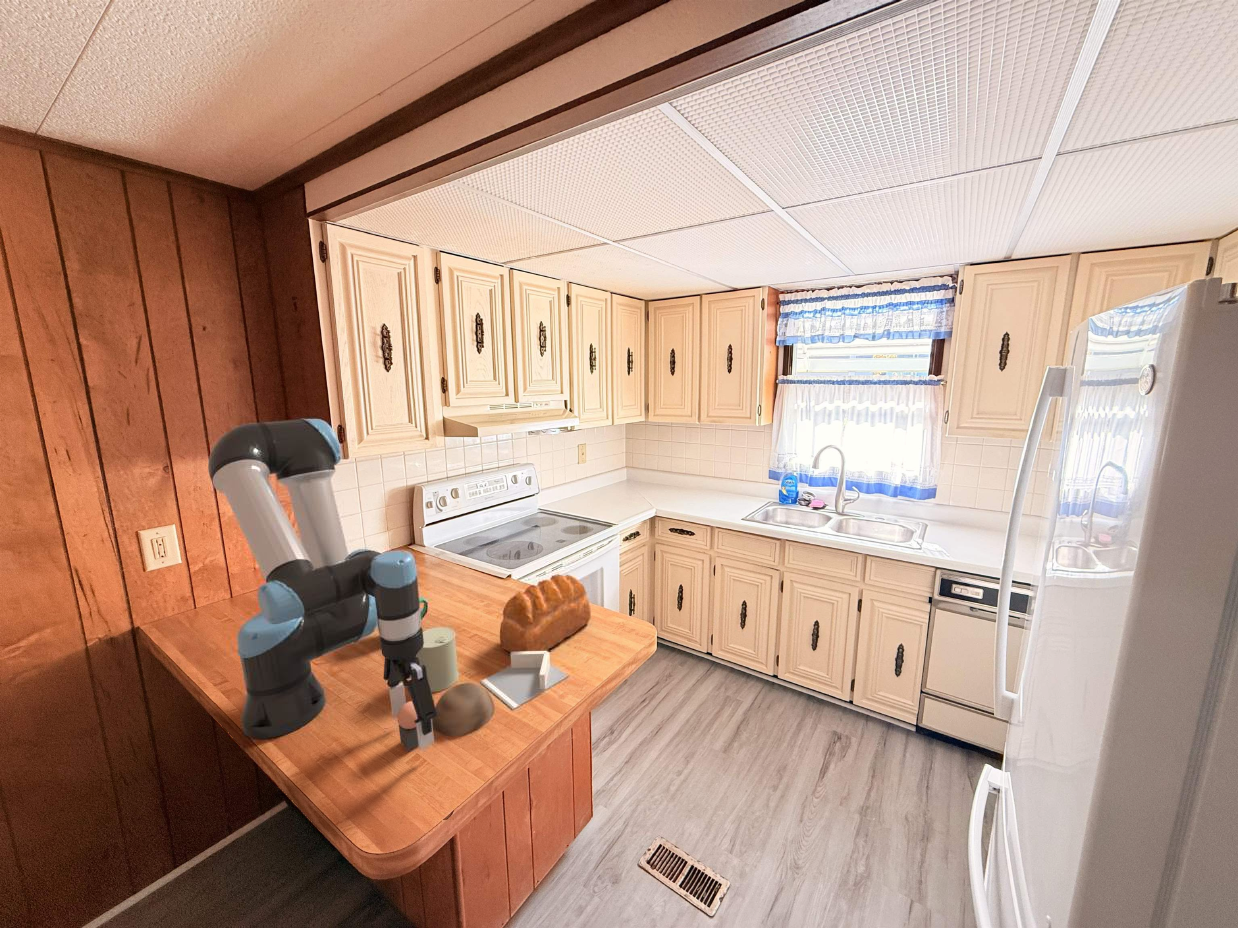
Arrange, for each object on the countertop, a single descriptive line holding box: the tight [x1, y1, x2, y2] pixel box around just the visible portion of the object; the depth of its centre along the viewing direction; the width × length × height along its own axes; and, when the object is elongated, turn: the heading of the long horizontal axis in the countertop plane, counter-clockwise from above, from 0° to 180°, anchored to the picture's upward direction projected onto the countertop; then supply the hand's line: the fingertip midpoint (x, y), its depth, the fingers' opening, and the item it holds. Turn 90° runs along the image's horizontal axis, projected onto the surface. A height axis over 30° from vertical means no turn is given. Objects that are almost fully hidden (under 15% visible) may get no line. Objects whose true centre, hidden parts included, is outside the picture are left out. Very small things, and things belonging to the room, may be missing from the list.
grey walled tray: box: [479, 650, 569, 711], centre depth 116 cm, size 16×14×4 cm
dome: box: [432, 682, 495, 737], centre depth 105 cm, size 13×13×13 cm
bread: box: [499, 573, 592, 653], centre depth 135 cm, size 14×26×16 cm, turn 143°
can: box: [416, 626, 460, 693], centre depth 116 cm, size 9×9×12 cm
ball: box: [396, 700, 417, 729], centre depth 96 cm, size 5×5×5 cm
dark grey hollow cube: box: [398, 724, 419, 753], centre depth 97 cm, size 4×4×4 cm
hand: (412, 728), depth 97 cm, fingers open, 12 cm apart
